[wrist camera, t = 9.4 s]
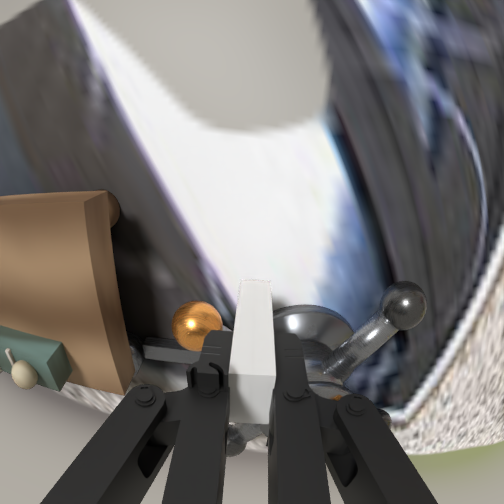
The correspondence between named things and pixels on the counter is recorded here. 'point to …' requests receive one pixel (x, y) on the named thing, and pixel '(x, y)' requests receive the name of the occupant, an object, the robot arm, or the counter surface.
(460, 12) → the counter surface
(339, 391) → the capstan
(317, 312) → the cam foot
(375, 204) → the counter surface
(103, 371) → the stand
